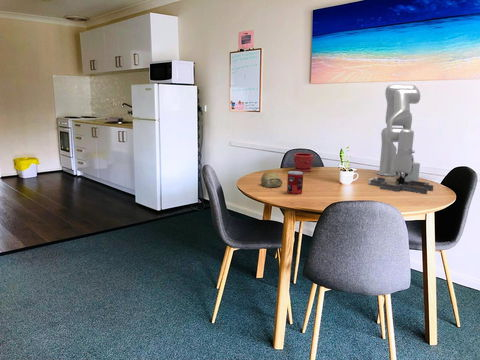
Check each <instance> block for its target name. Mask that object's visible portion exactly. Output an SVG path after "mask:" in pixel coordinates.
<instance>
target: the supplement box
mask: <svg viewBox="0 0 480 360" xmlns="http://www.w3.org/2000/svg"><path fill="white" fill-rule="evenodd" d="M420 166H421V162H418V161H414V168H413V172H412V175H408V176H406V177H405V181H406V182H408V181H411V180H412V181H419V176H420V169H421V167H420Z"/></svg>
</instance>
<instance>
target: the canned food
mask: <svg viewBox="0 0 480 360" xmlns="http://www.w3.org/2000/svg"><path fill="white" fill-rule="evenodd" d="M286 179H287V182H286V183H287V184H286V186H287V187H286V192H287V193H288V194H290V195H301V194H302V193H303V188H304V187H303V186H304V172H300V171H296V170H289V171H287V178H286Z"/></svg>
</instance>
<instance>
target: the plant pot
mask: <svg viewBox="0 0 480 360" xmlns="http://www.w3.org/2000/svg"><path fill="white" fill-rule="evenodd" d="M313 161H314V155H313V154H312V153H308V152H298V153H294V154H293V162H294V163H293V164H294V171H300V172H303V173H308V172H309V173H310V171H312V168H311V167H312V165H313Z"/></svg>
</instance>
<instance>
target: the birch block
mask: <svg viewBox="0 0 480 360" xmlns="http://www.w3.org/2000/svg"><path fill="white" fill-rule="evenodd" d="M384 178H385V182H387V184H390V185H396V186H397V185H399V182H398V179H399V177H396V176H387V177H386V176H385V177H384Z"/></svg>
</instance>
